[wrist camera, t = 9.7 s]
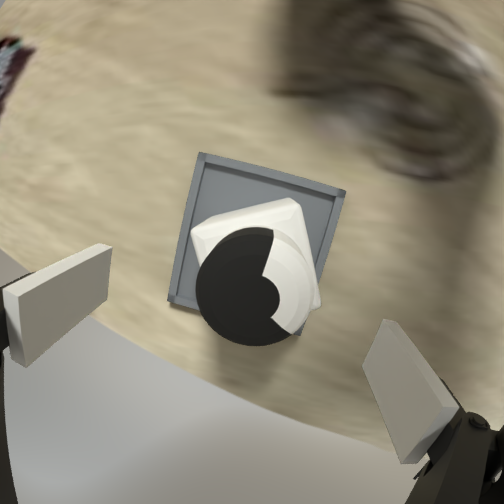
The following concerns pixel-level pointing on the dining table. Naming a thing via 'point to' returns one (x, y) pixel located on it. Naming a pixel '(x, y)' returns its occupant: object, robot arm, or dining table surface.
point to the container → (256, 272)
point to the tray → (242, 196)
